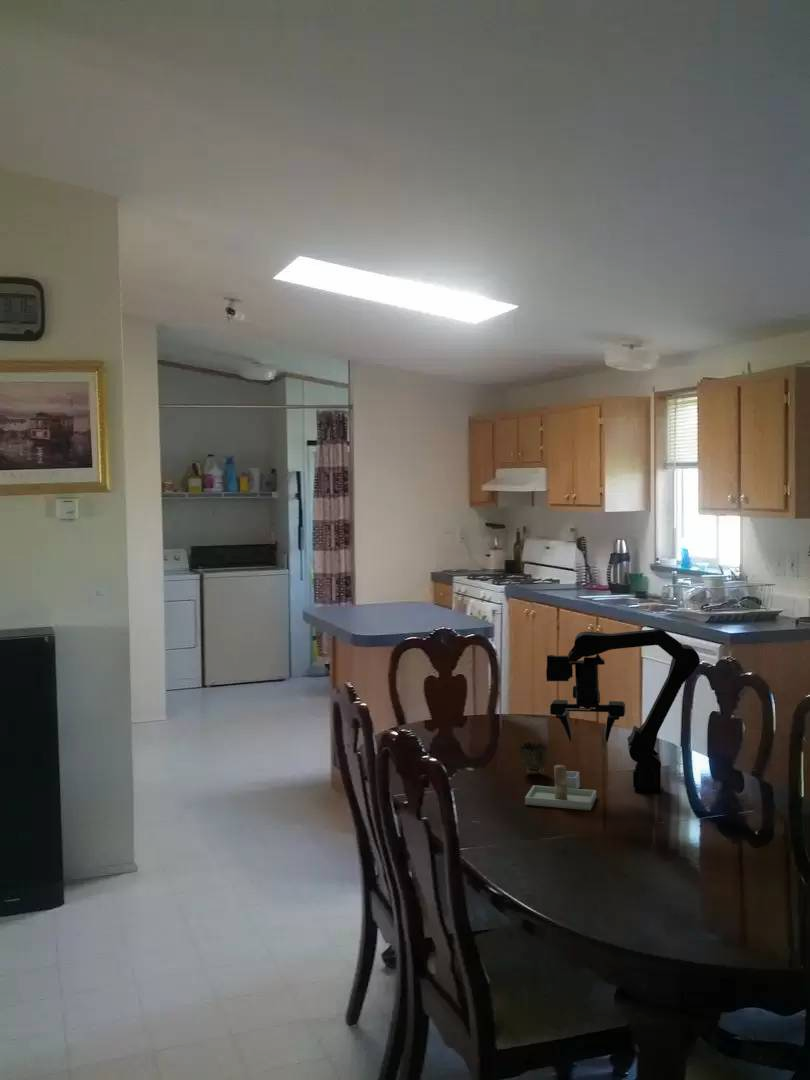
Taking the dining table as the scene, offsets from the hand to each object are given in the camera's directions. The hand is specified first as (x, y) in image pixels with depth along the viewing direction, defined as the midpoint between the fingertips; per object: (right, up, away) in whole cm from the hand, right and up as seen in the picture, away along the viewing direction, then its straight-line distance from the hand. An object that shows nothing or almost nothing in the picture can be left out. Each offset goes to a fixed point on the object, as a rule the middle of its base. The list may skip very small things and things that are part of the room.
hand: (588, 741), depth 241 cm
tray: (-9, -13, -9) cm, 18 cm away
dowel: (-9, -12, -9) cm, 18 cm away
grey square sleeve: (-6, -12, 0) cm, 14 cm away
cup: (-12, -12, +14) cm, 22 cm away
